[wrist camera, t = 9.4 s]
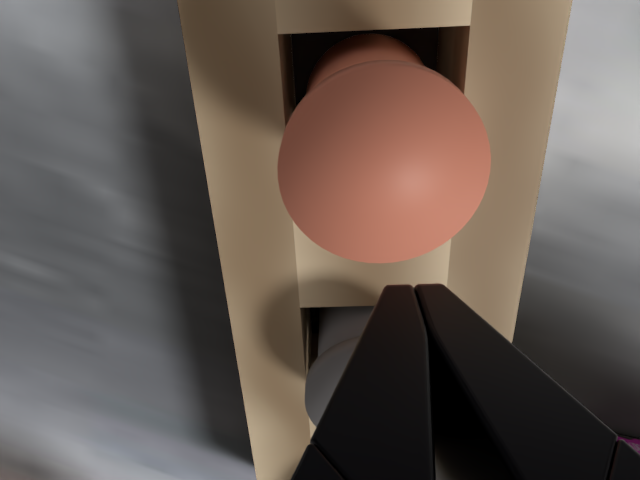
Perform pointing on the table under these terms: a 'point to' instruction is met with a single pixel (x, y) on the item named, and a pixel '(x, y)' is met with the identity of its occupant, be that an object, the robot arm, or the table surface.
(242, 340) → the socket block
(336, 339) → the grey rounded piece
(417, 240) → the salmon plug
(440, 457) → the robot arm
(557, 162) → the table surface
